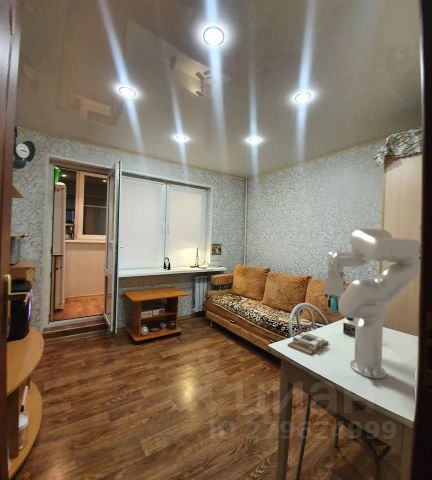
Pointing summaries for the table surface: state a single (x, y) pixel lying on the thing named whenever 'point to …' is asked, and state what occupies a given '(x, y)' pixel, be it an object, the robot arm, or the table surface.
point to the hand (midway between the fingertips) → (334, 308)
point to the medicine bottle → (349, 326)
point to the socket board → (301, 348)
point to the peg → (334, 305)
